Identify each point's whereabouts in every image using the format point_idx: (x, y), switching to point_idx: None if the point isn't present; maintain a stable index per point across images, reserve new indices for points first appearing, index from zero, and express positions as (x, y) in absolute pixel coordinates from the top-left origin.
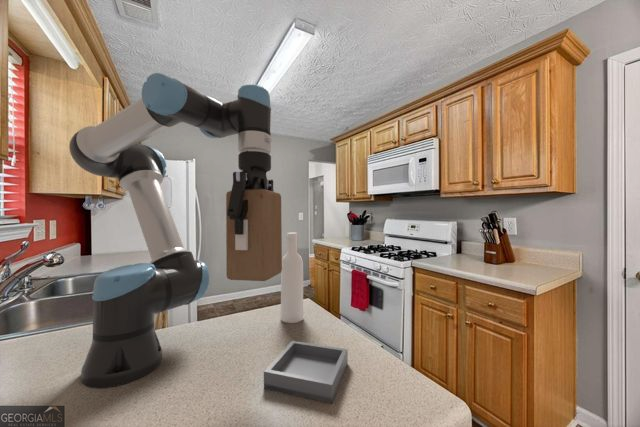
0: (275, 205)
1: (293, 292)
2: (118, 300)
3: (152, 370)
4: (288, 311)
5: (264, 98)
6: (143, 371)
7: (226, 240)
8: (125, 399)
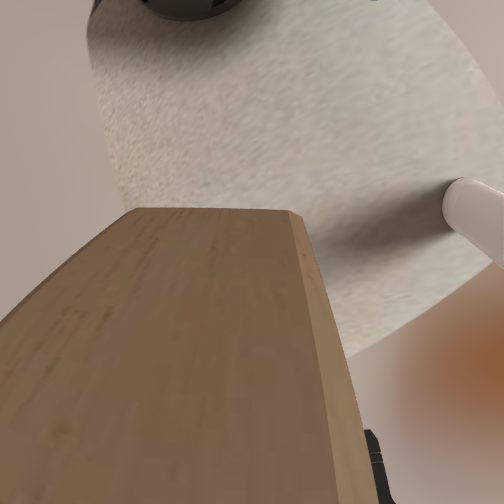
0: None
1: (481, 240)
2: None
3: (194, 20)
4: (456, 209)
5: None
6: (174, 18)
7: (42, 282)
8: (126, 48)
